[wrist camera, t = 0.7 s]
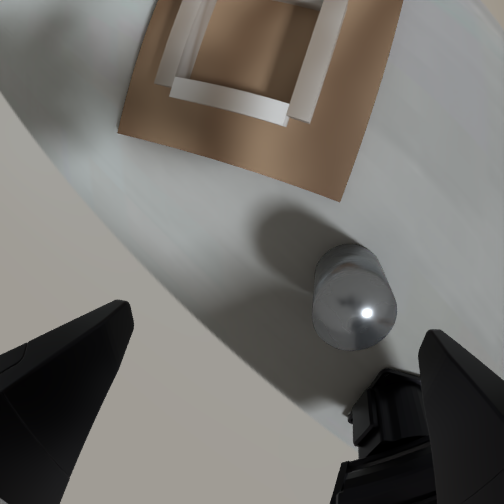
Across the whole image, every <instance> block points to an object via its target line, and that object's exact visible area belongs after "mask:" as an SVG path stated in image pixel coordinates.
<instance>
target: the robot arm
mask: <svg viewBox="0 0 504 504" xmlns="http://www.w3.org/2000/svg"><path fill="white" fill-rule="evenodd" d="M133 329H134V321H133V316H132V312H131V307H130V304H129V302H127V301H123V300H114V301H112V302H110V303H108V304H106V305H104V306H102V307H100V308H97V309H95V310H93V311H91V312H89V313H87V314H85V315H83V316H81V317H79V318H76V319H74V320H72V321H70V322H68V323H66V324H64V325H62V326H60V327H58V328H56V329H54V330H51V331H49V332H47V333H45V334H43V335H41V336H39V337H37V338H35V339H33V340H31V341H29V342H28V343H25V344H23V345H21V346H18V347H17V348H14V349H12V350H10V351H8V352H6V353H4V354H1V355H0V504H60V502H61V499H62V497H63V494H64V491H65V489H66V486H67V484H68V482H69V479H70V476H71V474H72V471H73V469H74V466H75V464H76V462H77V459H78V457H79V454H80V452H81V450H82V448H83V445H84V443H85V441H86V438H87V436H88V434H89V431H90V429H91V427H92V425H93V423H94V421H95V418H96V416H97V414H98V412H99V410H100V408H101V405H102V403H103V401H104V399H105V397H106V395H107V393H108V390H109V388H110V386H111V384H112V382H113V380H114V378H115V376H116V374H117V372H118V370H119V367H120V364H121V362H122V359H123V356H124V354H125V351H126V348H127V345H128V343H129V340H130V337H131V335H132V332H133ZM418 360H419V368H420V377H421V378H420V377H417V376H413V375H409V374H406V373H402V372H399V371H395V370H392V369H384V370H382V371H381V372H380V373H379V375H378V376H377V378H376V379H375V381H374V382H373V383H372V385H371V386H370V388H368V389H366V391H365V392H364V393H363V395H362V396H361V397H360V399H359V400H358V401H357V403H356V404H355V405H354V407H353V408H352V412H351V413H350V414H349V415H348V422H349V423H351V424H353V443H354V446H358V453H359V459H358V460H354V461H346V462H343V463H341V467H340V471H339V473H338V477H337V481H336V484H335V488H334V491H333V495H332V498H331V501H330V504H504V380H502V379H501V378H500V377H499V376H498V375H496V374H495V373H494V372H493V371H492V370H490V369H489V368H488V367H487V366H486V365H484V364H483V363H482V362H481V361H479V360H478V359H477V358H476V357H475V356H473V355H472V354H471V353H470V352H468V351H467V350H466V349H465V348H463V347H462V346H461V345H460V344H458V343H457V342H456V341H455V340H453V339H452V338H451V337H450V336H448V335H447V334H446V333H444V332H443V331H442V330H439V329H430V330H428V331H427V333H426V335H425V337H424V340H423V342H422V344H421V347H420V349H419V353H418ZM386 374H388V375H387V376H384V375H386Z"/></svg>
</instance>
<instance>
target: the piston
mask: <svg viewBox="0 0 504 504" xmlns="http://www.w3.org/2000/svg"><path fill="white" fill-rule="evenodd" d="M396 316H397V304H396V300H395V298H394V295H393V293H392V290H391V288H390V286H389V283H388V281H387V278H386V276H385V274H384V272H383V269H382V267H381V265H380V263H379V260H378V259H377V257H376V256H375V255H374V254H373V253H372V252H371V251H370V250H368V249H367V248H365V247H363V246H360V245H355V244H344V245H340V246H337V247H335V248H333V249H331V250H329V251H328V252H327V253H326V254H324V256H323V257H322V258H321V259H320V261H319V263H318V265H317V267H316V271H315V282H314V297H313V311H312V321H313V325H314V328H315V330H316V332H317V334H318V335H319V336H320V338H321V339H322V340H323V341H324V342H326V343H327V344H329V345H331V346H332V347H335V348H337V349H341V350H348V351H354V350H362V349H365V348H368V347H371V346H373V345H375V344H377V343H378V342H380V341H381V340H382V339H383V338H385V337H386V335H387V334H388V333H389V332H390V330H391V329H392V327H393V325H394V323H395V320H396Z"/></svg>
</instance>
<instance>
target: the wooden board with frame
mask: <svg viewBox="0 0 504 504" xmlns="http://www.w3.org/2000/svg"><path fill="white" fill-rule="evenodd" d="M402 3H403V0H158V2H157V4H156V7H155V9H154V12H153V15H152V17H151V20H150V23H149V25H148V28H147V31H146V34H145V37H144V39H143V42H142V45H141V48H140V51H139V55H138V58H137V61H136V64H135V67H134V71H133V74H132V78H131V81H130V85H129V88H128V92H127V96H126V99H125V103H124V107H123V111H122V115H121V120H120V124H119V128H118V133H119V134H123V135H127V136H131V137H135V138H139V139H143V140H147V141H151V142H154V143H158V144H162V145H166V146H169V147H173V148H177V149H180V150H184V151H187V152H191V153H194V154H198V155H201V156H205V157H208V158H211V159H215V160H218V161H221V162H225V163H228V164H231V165H234V166H237V167H240V168H244V169H247V170H250V171H253V172H256V173H259V174H262V175H265V176H268V177H271V178H274V179H277V180H280V181H283V182H286V183H288V184H291V185H294V186H297V187H300V188H303V189H305V190H308V191H311V192H314V193H316V194H319V195H322V196H325V197H327V198H330V199H333V200H335V201H338V202H340V201H341V198H342V195H343V193H344V190H345V187H346V185H347V182H348V179H349V176H350V174H351V171H352V168H353V165H354V162H355V160H356V157H357V154H358V151H359V148H360V145H361V142H362V139H363V136H364V133H365V130H366V127H367V124H368V121H369V118H370V115H371V112H372V109H373V106H374V103H375V99H376V96H377V93H378V90H379V87H380V83H381V80H382V77H383V73H384V70H385V67H386V63H387V60H388V56H389V53H390V49H391V45H392V42H393V38H394V35H395V31H396V27H397V23H398V19H399V15H400V12H401V8H402Z"/></svg>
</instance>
